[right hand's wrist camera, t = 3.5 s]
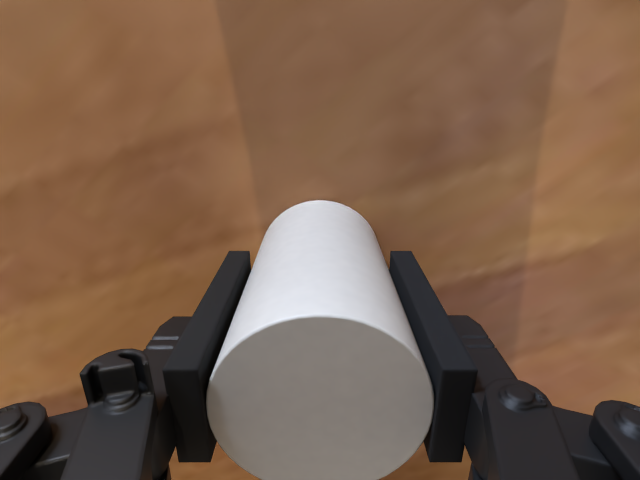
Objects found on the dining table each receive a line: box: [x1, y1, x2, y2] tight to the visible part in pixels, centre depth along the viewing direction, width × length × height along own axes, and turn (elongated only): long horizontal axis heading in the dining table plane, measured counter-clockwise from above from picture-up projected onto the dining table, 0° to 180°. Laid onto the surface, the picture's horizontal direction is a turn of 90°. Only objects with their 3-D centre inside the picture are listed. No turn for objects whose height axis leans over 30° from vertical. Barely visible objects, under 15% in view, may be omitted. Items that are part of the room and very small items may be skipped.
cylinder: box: [206, 200, 434, 480], centre depth 13 cm, size 5×5×9 cm
